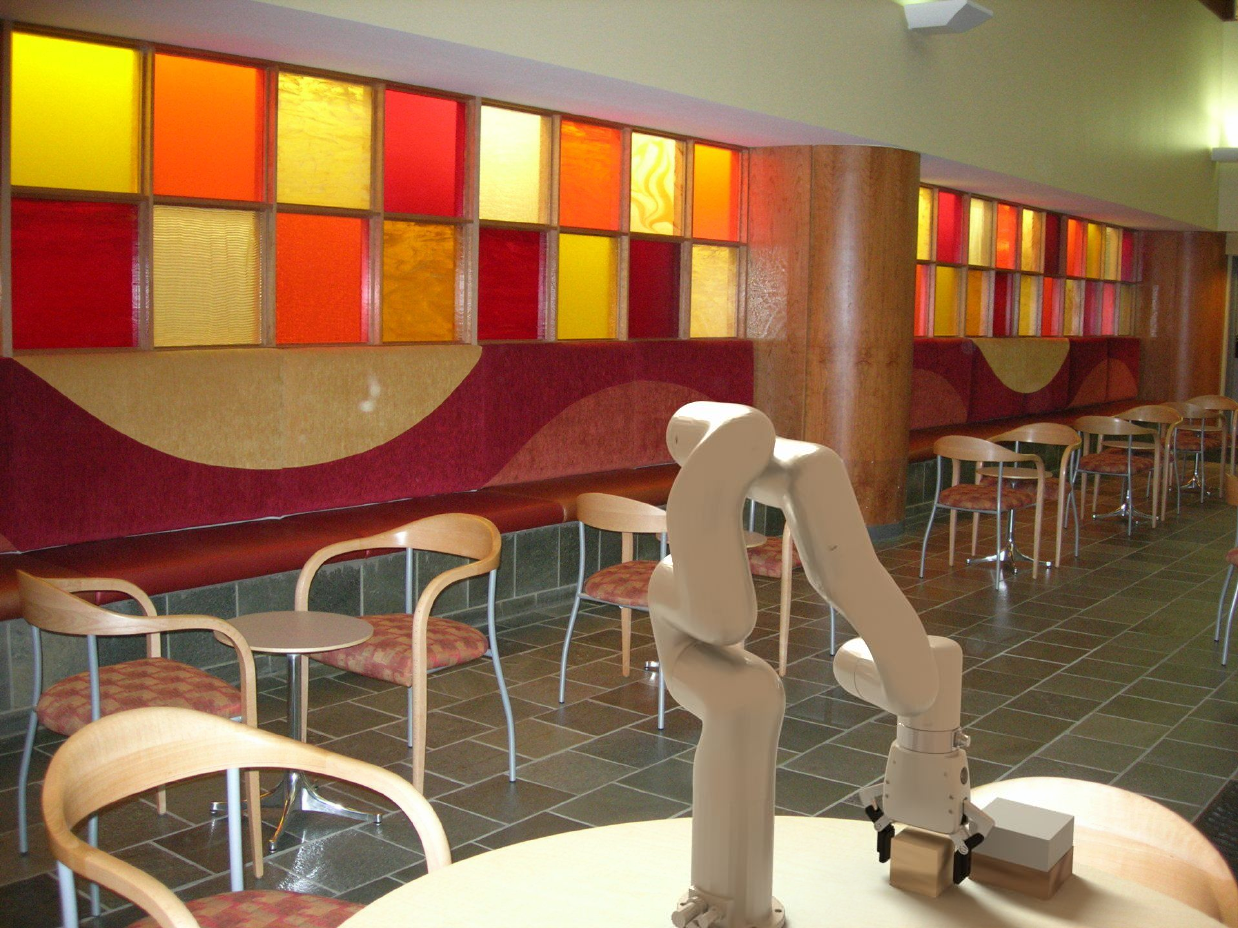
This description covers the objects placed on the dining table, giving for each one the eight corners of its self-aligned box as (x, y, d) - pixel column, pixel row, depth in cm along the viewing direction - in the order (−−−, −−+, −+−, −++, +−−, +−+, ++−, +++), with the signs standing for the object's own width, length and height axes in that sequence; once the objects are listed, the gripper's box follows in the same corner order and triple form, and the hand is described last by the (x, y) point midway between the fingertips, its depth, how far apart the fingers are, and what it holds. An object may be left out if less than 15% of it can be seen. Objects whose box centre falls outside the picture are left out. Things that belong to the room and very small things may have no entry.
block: (935, 898, 145) (937, 851, 145) (889, 884, 149) (891, 838, 148) (953, 881, 150) (955, 835, 150) (908, 868, 154) (910, 823, 153)
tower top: (1047, 871, 145) (1049, 840, 144) (967, 850, 151) (969, 819, 151) (1072, 845, 153) (1074, 815, 152) (995, 826, 159) (997, 796, 158)
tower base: (1048, 903, 145) (1050, 872, 145) (968, 881, 151) (969, 850, 151) (1072, 875, 153) (1073, 845, 153) (995, 855, 159) (996, 826, 159)
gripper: (1007, 743, 146) (1001, 878, 147) (875, 716, 156) (871, 842, 158) (986, 759, 140) (979, 899, 141) (850, 730, 150) (846, 861, 152)
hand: (922, 869), depth 149 cm, fingers open, 9 cm apart
